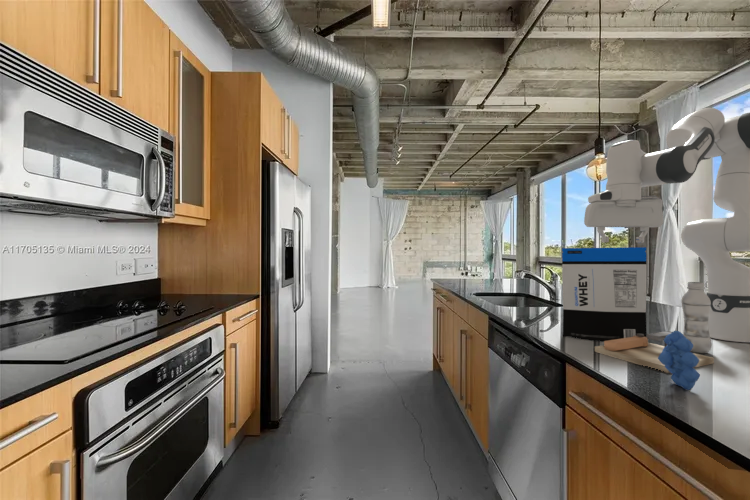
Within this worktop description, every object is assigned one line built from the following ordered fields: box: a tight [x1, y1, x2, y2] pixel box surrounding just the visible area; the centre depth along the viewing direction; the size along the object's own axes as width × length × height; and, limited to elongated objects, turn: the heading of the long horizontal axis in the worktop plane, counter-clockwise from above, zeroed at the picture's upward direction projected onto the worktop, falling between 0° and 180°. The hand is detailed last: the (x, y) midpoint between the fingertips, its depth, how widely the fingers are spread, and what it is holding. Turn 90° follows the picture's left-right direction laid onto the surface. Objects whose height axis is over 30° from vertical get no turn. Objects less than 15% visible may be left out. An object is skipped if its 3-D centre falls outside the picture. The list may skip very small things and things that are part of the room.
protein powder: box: [561, 246, 648, 343], centre depth 127 cm, size 10×24×30 cm, turn 71°
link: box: [603, 336, 649, 351], centre depth 110 cm, size 15×4×2 cm, turn 111°
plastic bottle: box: [680, 281, 713, 354], centre depth 110 cm, size 6×7×20 cm
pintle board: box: [594, 330, 715, 374], centre depth 106 cm, size 18×20×6 cm
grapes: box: [658, 330, 701, 391], centre depth 86 cm, size 12×7×12 cm, turn 166°
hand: (622, 242), depth 114 cm, fingers open, 8 cm apart
